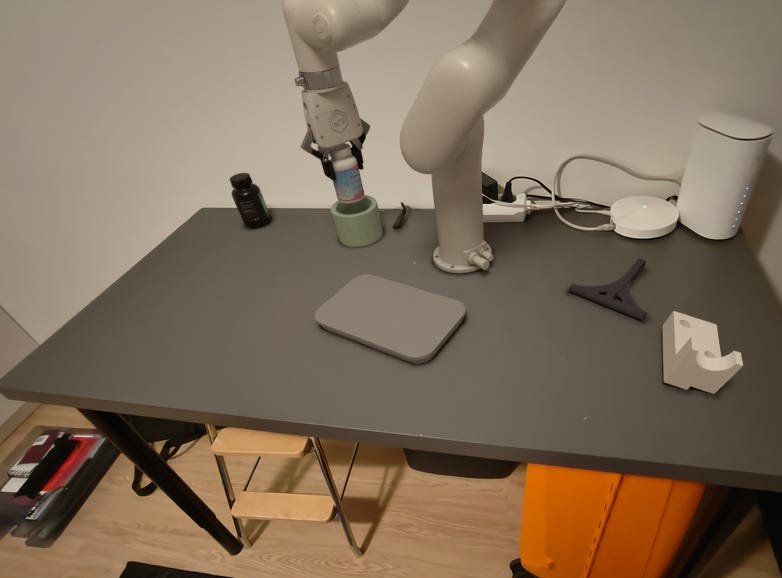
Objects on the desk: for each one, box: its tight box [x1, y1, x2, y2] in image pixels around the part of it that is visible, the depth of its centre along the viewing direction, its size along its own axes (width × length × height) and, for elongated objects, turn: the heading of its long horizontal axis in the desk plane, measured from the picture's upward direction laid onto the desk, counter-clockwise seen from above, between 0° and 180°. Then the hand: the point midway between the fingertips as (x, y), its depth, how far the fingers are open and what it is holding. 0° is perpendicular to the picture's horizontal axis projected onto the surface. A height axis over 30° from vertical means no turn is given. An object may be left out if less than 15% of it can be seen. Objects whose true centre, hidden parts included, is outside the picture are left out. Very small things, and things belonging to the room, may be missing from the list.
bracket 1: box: [568, 257, 648, 322], centre depth 86 cm, size 14×15×3 cm
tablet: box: [314, 274, 467, 365], centre depth 85 cm, size 16×26×2 cm, turn 59°
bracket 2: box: [662, 310, 744, 395], centre depth 70 cm, size 13×7×8 cm, turn 163°
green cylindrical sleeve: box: [330, 194, 384, 248], centre depth 107 cm, size 10×10×8 cm
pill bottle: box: [329, 142, 366, 204], centre depth 99 cm, size 6×6×11 cm
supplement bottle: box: [229, 172, 272, 229], centre depth 115 cm, size 7×7×12 cm
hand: (345, 172), depth 99 cm, fingers closed on pill bottle, 6 cm apart
